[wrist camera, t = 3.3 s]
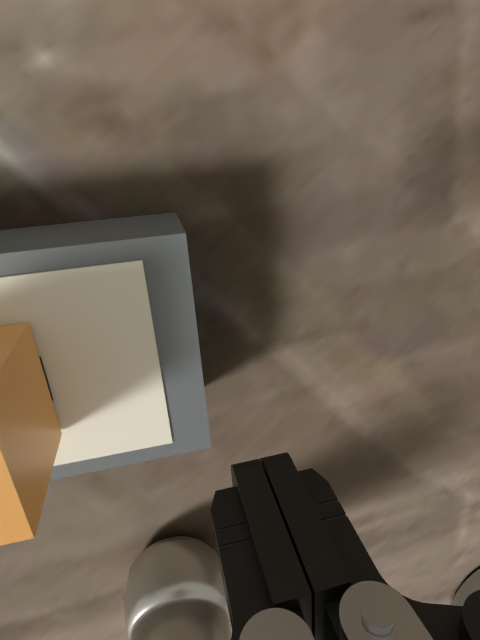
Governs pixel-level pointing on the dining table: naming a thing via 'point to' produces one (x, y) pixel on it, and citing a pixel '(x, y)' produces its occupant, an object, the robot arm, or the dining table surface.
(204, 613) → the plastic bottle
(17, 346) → the lever
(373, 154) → the dining table surface
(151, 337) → the box
